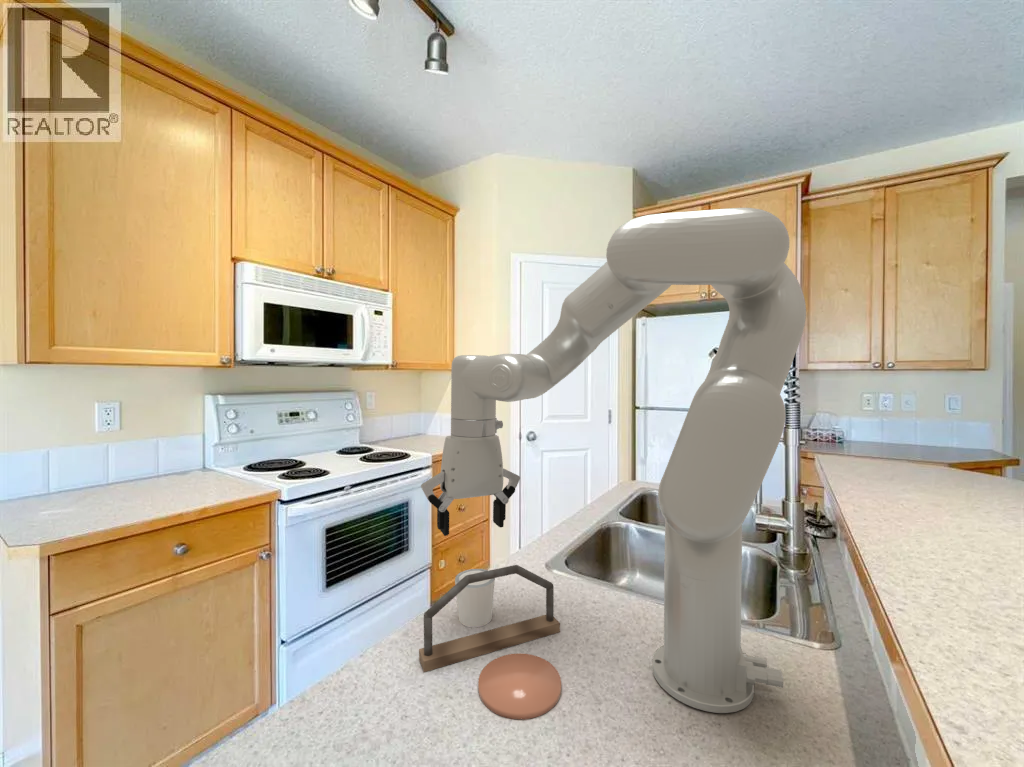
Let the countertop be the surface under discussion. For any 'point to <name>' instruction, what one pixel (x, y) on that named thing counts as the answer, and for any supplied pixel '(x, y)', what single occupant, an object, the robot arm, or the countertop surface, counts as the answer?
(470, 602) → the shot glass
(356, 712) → the countertop surface
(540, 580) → the arched handle
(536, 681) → the coaster
